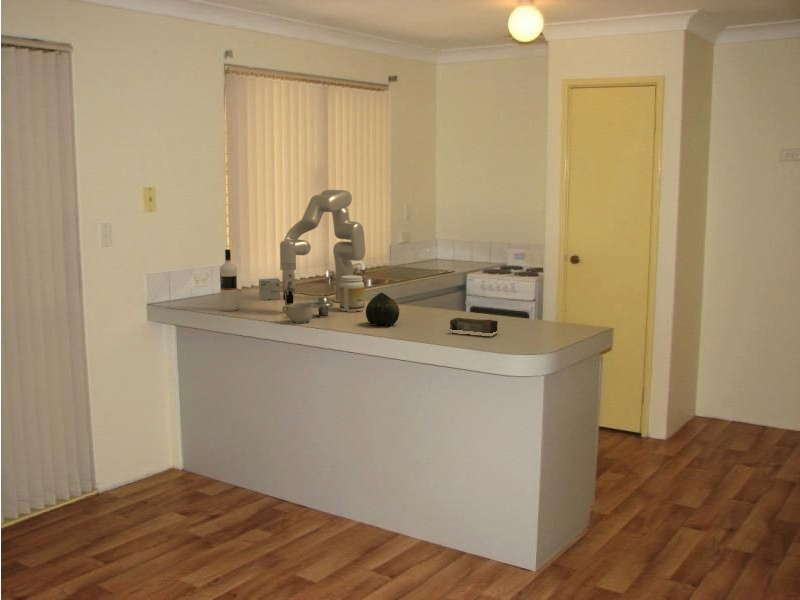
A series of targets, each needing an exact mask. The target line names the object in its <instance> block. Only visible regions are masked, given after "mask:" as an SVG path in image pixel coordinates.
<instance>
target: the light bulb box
mask: <svg viewBox="0 0 800 600" xmlns="http://www.w3.org/2000/svg"><path fill="white" fill-rule="evenodd" d="M258 289H259V292H258V293H259V300H260V299H261V300H260V301H269V300H268V299H276V300H281V280H280V279H279V278H277V277H276V278H258Z"/></svg>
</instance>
